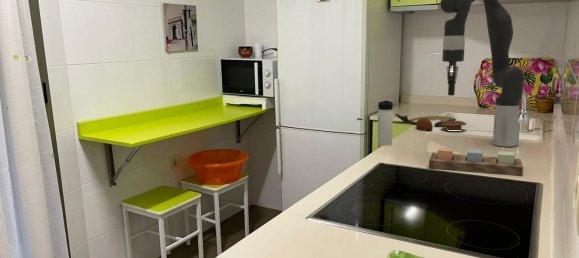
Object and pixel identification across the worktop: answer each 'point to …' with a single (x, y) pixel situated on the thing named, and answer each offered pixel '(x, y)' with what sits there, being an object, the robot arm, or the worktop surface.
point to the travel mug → (385, 123)
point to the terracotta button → (445, 153)
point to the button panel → (476, 165)
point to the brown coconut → (453, 125)
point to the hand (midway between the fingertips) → (451, 95)
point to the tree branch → (441, 118)
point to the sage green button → (506, 157)
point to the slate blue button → (474, 155)
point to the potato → (424, 125)
